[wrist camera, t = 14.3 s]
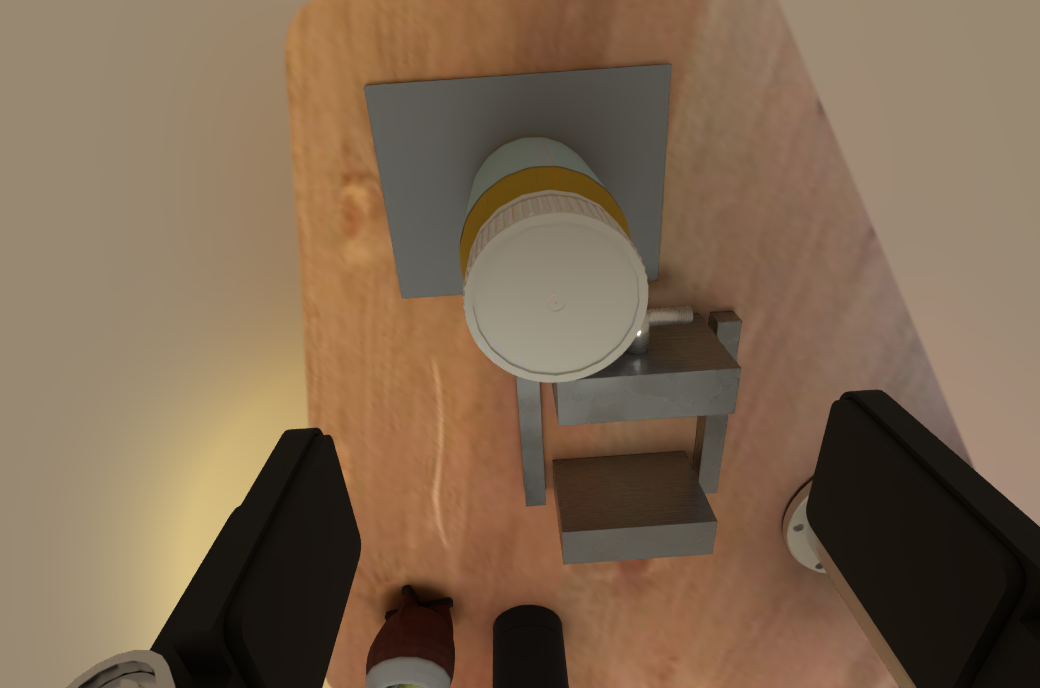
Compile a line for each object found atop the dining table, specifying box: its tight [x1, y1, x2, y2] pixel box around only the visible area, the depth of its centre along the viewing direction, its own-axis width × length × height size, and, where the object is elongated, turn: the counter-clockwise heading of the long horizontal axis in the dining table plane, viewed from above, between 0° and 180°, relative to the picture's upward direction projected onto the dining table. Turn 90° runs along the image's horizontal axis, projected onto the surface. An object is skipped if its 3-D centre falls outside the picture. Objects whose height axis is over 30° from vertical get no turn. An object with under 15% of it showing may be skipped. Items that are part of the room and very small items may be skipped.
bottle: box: [460, 136, 649, 383], centre depth 24 cm, size 7×7×15 cm
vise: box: [516, 306, 742, 565], centre depth 35 cm, size 14×17×7 cm
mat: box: [364, 64, 671, 299], centre depth 31 cm, size 16×12×1 cm
